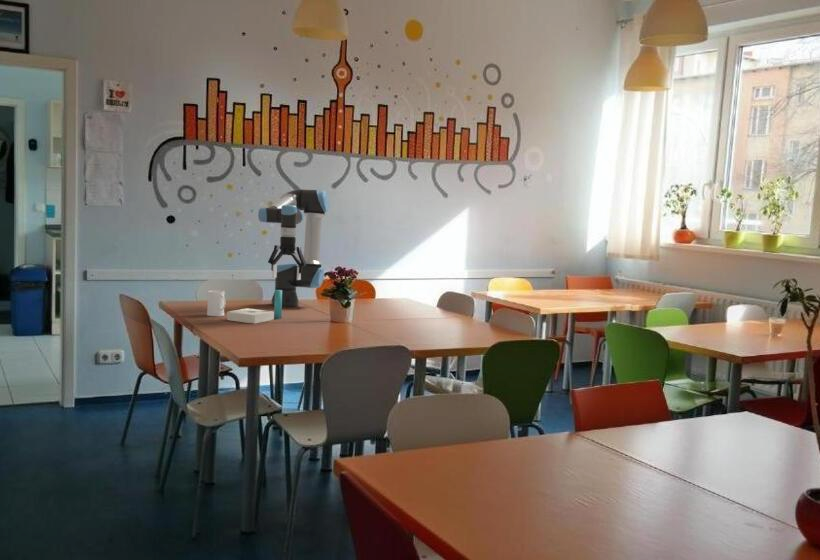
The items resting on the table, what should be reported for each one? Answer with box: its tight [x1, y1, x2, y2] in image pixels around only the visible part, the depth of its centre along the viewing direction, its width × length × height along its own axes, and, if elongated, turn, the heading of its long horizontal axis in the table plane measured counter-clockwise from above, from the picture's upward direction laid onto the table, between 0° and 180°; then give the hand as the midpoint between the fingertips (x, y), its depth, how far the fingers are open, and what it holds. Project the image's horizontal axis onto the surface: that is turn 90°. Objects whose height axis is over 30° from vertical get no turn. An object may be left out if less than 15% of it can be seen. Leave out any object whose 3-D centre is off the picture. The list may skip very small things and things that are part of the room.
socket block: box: [226, 307, 275, 324], centre depth 395 cm, size 16×16×4 cm
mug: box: [206, 289, 227, 317], centre depth 403 cm, size 12×8×12 cm
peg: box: [273, 289, 283, 320], centre depth 403 cm, size 4×4×14 cm
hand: (286, 278), depth 405 cm, fingers open, 13 cm apart
